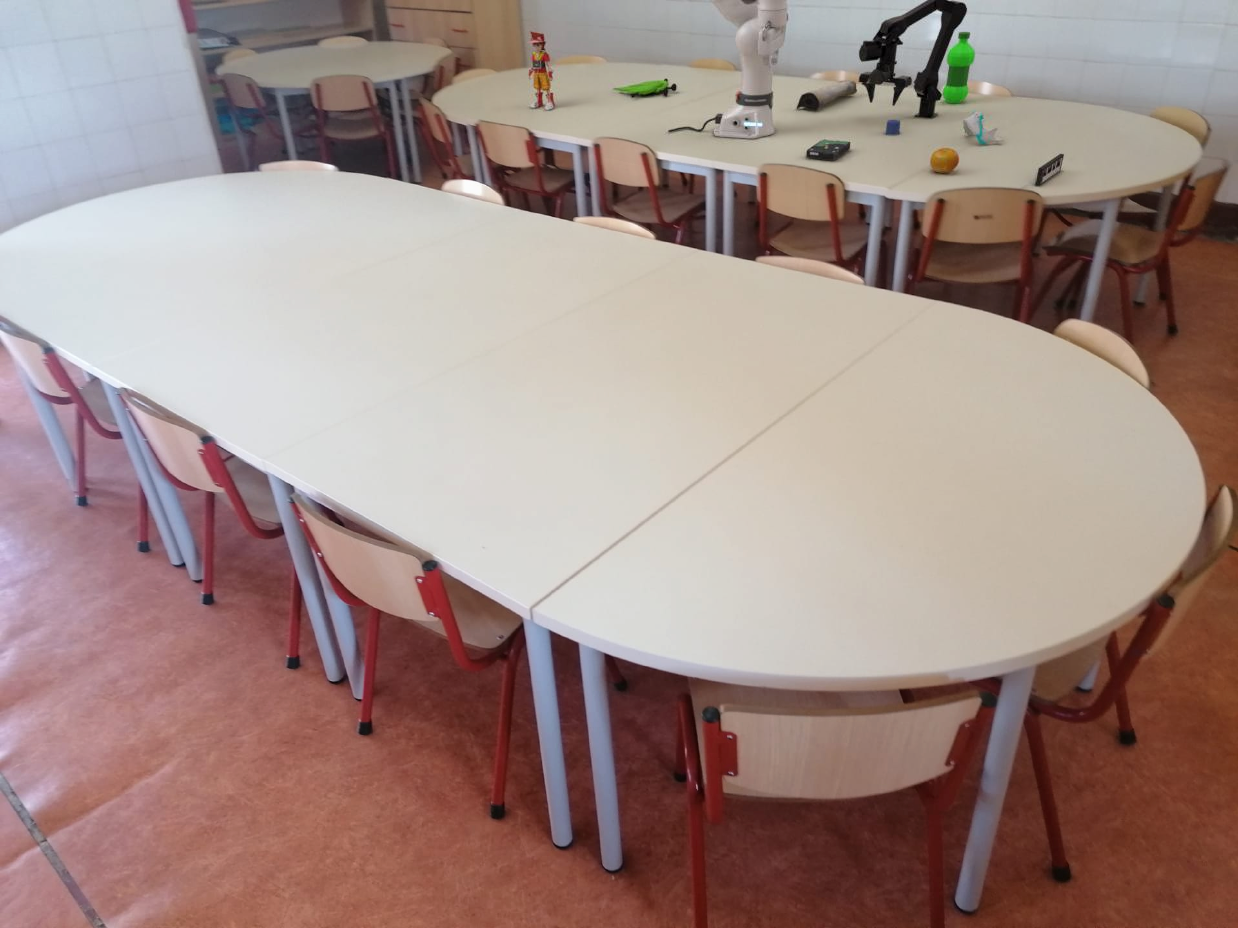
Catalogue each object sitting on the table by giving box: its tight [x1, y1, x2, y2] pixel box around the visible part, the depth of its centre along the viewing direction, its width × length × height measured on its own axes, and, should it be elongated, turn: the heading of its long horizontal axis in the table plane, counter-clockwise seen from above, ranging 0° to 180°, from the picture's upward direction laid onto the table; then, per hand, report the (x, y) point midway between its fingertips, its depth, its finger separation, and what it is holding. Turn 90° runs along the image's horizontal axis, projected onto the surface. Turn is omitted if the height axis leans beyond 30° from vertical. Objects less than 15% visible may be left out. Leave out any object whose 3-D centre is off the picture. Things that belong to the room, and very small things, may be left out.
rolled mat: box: [796, 79, 858, 112], centre depth 363 cm, size 30×9×10 cm
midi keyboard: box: [1035, 153, 1065, 186], centre depth 273 cm, size 18×1×5 cm, turn 138°
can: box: [885, 119, 902, 136], centre depth 323 cm, size 5×5×4 cm
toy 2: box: [612, 78, 677, 99], centre depth 396 cm, size 28×5×30 cm
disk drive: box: [805, 138, 851, 161], centre depth 306 cm, size 10×3×15 cm
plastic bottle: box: [942, 31, 976, 104], centre depth 348 cm, size 10×10×25 cm
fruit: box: [929, 147, 960, 174], centre depth 283 cm, size 8×8×8 cm
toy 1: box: [527, 31, 556, 111], centre depth 374 cm, size 12×9×30 cm
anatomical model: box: [962, 110, 1003, 146], centre depth 309 cm, size 15×10×10 cm
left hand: (770, 67), depth 282 cm, fingers open, 8 cm apart
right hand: (882, 104), depth 333 cm, fingers open, 9 cm apart
